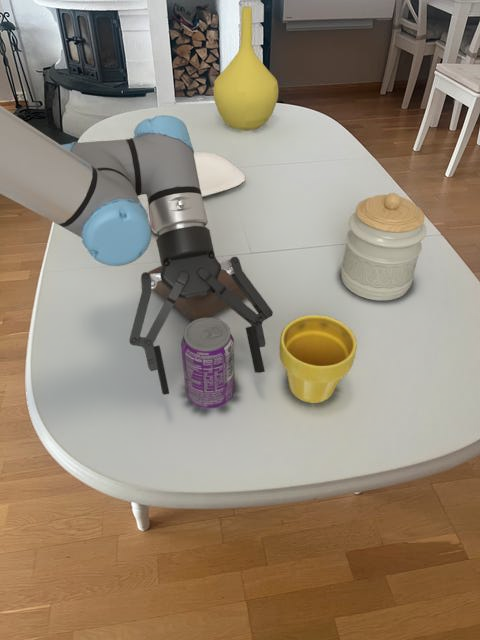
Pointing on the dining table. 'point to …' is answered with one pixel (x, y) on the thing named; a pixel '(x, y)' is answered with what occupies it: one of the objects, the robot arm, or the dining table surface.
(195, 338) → the beverage can
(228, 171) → the plate
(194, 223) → the robot arm
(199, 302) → the button box
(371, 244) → the jar
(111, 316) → the dining table surface
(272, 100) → the vase
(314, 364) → the flower pot
